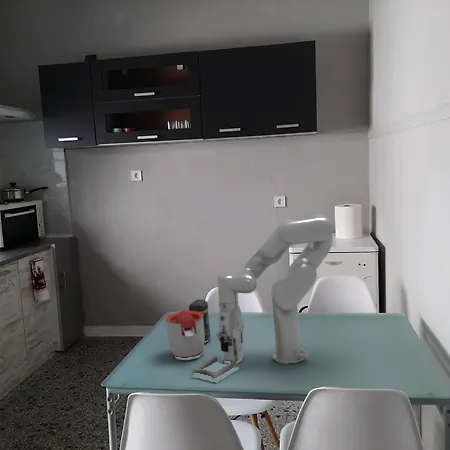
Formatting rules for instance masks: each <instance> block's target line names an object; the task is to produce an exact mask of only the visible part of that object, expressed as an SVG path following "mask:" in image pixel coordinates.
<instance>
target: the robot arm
mask: <svg viewBox="0 0 450 450" xmlns="http://www.w3.org/2000/svg"><path fill="white" fill-rule="evenodd" d="M334 226H335V225H334V223H333V222H332V221H331V220H330V218H329V217H328V216H326V215H325V214H322V213H315V214H313V215H312V216H311V217H309V219H305V220H295V219H293V218H286V219H283V220H281V222H280V223H278V225H277V227H276V228H275V229H274V231H273V232H271V234H270V235H269V236H268V237H267V239H266V240H265V241H264V243H263V244H262V245H261V246H260V247H259V248H258V249H257V251H255V253H254V254H253V255H251V257H250V258H249V260H248V261H246V264H245V265H244V266H242V268H241V270H240V271H239V273H238V275H236V274H235V273H232V272H226V273H220V274H219V275H217V279H216V280H217V281H216V282H217V283H216V284H217V292H218V303H219V304H218V306H219V313H218V326H219V327H218V330H217V332H216V337H217V340H218V341H219V342H220V351H221V352H223V353H224V352H228V351H229V350H228V342H227V339H228V336H229V337H231V336H233V329H235V328H236V327H237V329H238V332H240V331H241V342H242V344H243V342H244V341H243V333H244V325H245V320H244V319H243V316H242V311H241V307H240V306H239V295H238V294H247V295H248V294H251V293H253V292H255V290H256V289H257V285H258V284H257V280H258V279H259V278H260V277H261V275H262V274H263V273H264V272H265V271H266V270H267V268H269V267H270V266H271V265H273V264H275V263H277V262H279V261H280V259H281V258H282V257H283V255H284V254H285V253H286V252H287V251H288V250H289V248H290V247H291V246H292V245H293V246H294V245H301V244H306V246H305V247H304V248H303V250H301V252H300V254H299V255H298V256H297V257H296V258H295V259H294V261H292V263H290V266H289V271H288V273H289V274H288V275H287V276H286V278H279V279H277V280H276V281H274V283H273V284H272V286H271V290H270V291H271V292H270V293H271V294H270V295H271V303H272V312H273V313H272V316H273V327H274V328H273V330H274V340H275V341H274V345H275V352H273V353H272V357H271V359H272V361H274V360H275V361H277V362H280V363H279V364H281V363H294V364H297V362H298V363H300V361H301V362H303V360H305V359H309V357H310V355H309V353H310V351H308V350H304V348H303V347H304V346H301V344H300V343H301V342H300V328H299V326H300V325H299V311H298V305H299V304H300V303H301V302H302V300H303V299H304V298H305V296H306V295H307V294H308V293H309V292H310V290H311V289H312V288H313V287H314V285H315V283H316V281H317V279H318V278H317V276H318V275H317V270H318V269H319V267H320V266H321V264H322V263H323V261H324V260H325V258H326V257H327V256H328V254H329V252H330V250H331V248H332V245H333V238H334V237H333V233H334V231H335V230H334V229H335V228H334ZM224 333H226V334H224ZM223 336H225V339H224V338H223ZM275 361H274V362H275ZM277 362H276V363H277Z"/></svg>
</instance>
